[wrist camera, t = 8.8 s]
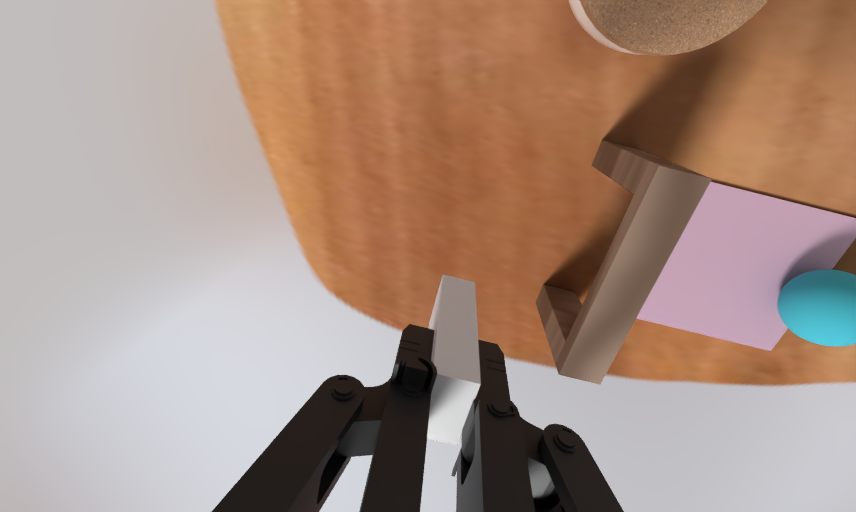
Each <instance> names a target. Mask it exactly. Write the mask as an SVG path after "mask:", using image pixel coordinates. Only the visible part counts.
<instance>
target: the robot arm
mask: <svg viewBox="0 0 856 512" xmlns="http://www.w3.org/2000/svg"><path fill="white" fill-rule="evenodd" d="M461 435H462V447H461V450H460V453H459V455H458V458H457V460H456V463H455V466H454V468H453V471H452V476H455V474H456V472H457V510H456V512H624V511H623V510H622V508H621V506H620V504H619V503H618V501H617V499H616V497H615V496H614V494H613V492H612V490H611V489H610V487H609V485H608V483H607V482H606V480H605V478H604V476H603V475H602V473H601V471H600V470H599V468H598V466H597V464H596V462H595V461H594V459H593V457H592V455H591V454H590V452H589V450H588V448H587V447H586V445H585V443H584V442H583V440H582V439H581V438H580V436H579V435H578V434H576V433H575V432H574V431H572V430H571V429H569V428H567V427H565V426H563V425H559V424H551V425H548V426H547V427H546V428H545V429H544V430H542V429H540V428H538V427H536V426H534V425H532V424H530V423H528V422H527V421H525V420H524V419H522V418H521V417H520V415H519V412H518V409H517V407H516V406H515V405H514V404H513V402H512V401H510V395H509V388H508V381H507V374H506V367H505V360H504V354H503V352H502V351H501V349H500V348H499V346H498V345H497V344H494V343H490V342H486V341H482V340H478V327H477V310H476V292H475V282H472V281H468V280H464V279H460V278H456V277H452V276H447V275H443V276H442V279H441V283H440V287H439V290H438V294H437V297H436V301H435V305H434V308H433V312H432V315H431V319H430V322H429V329H428V328H424V327H420V326H415V325H411V324H409V325H408V326H407V327H406V328H405V329H404V330H403V332H402V336H401V340H400V344H399V348H398V352H397V356H396V361H395V365H394V369H393V373H392V376H391V378H390V379H389V381H388V382H386V383H384V384H383V385H380V386H375V387H364V386H363V385H362V383H361V382H360V381H359V380H357V379H356V378H354V377H351V376H348V375H336V376H333V377H330V378H328V379H327V380H326V381H325V382H323V384H322V385H321V386H320V387H319V388H318V389H317V391H316V392H315V393H314V394H313V395H312V396H311V397H310V399H309V400H308V401H307V402H306V403H305V404H304V405H303V407H302V408H301V409H300V410H299V411H298V412H297V414H296V415H295V416H294V417H293V418H292V419H291V421H290V422H289V423H288V424H287V425H286V426H285V427H284V429H283V430H282V431H281V432H280V433H279V435H278V436H277V437H276V438H275V439H274V440H273V441H272V443H271V444H270V445H269V446H268V447H267V448H266V449H265V451H264V452H263V453H262V454H261V455H260V456H259V458H258V459H257V460H256V461H255V462H254V463H253V464H252V466H251V467H250V468H249V469H248V470H247V471H246V473H245V474H244V475H243V476H242V477H241V479H240V480H239V481H238V482H237V483H236V484H235V485H234V486H233V488H232V489H231V490H230V491H229V492H228V493H227V495H226V496H225V497H224V498H223V499H222V500H221V502H220V503H219V504H218V505H217V506H216V507H215V509H214V510H213V511H212V512H319V510H320V509H321V507H322V506H323V504H324V503H325V501H326V499H327V497H328V496H329V494H330V493H331V491H332V489H333V488H334V486H335V484H336V483H337V481H338V479H339V477H340V476H341V474H342V473H343V471H344V469H345V468H346V465H347V464H348V463H349V461H350V458H351V457H353V456H365V455H373V457H372V461H371V465H370V469H369V473H368V478H367V482H366V486H365V490H364V495H363V499H362V503H361V507H360V512H420V504H421V493H422V484H423V473H424V463H425V452H426V442H427V438H428V439H432V440H436V441H441V442H445V443H449V444H454V445H458V443H459V441H460V438H461Z"/></svg>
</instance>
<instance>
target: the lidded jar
mask: <svg viewBox="0 0 856 512" xmlns="http://www.w3.org/2000/svg"><path fill="white" fill-rule="evenodd" d="M568 1H569V4H570V7H571V9H572V11H573V13H574V16H575V18H576V19H577V21H578V22H579V23H580V25H581V26H582V28H583V29H584V30H585V31H586V32H587V33H588V34H589V35H590V36H591V37H593V38H594V39H595V40H597V41H598V42H600V43H601V44H603V45H604V46H607V47H609V48H612V49H614V50H617V51H621V52H625V53H630V54H644V55H659V56H666V55H674V54H680V53H687V52H690V51H693V50H697V49H700V48H703V47H706V46H708V45H710V44H712V43H714V42H716V41H719V40H721V39H722V38H724V37H725V36H727V35H729V34H730V33H732V32H733V31H735V30H737V29H738V28H739V27H741V26H742V25H743V24H744V23H745V22H747V21H748V20H749V19H750V18H752V17H753V16H754V15H755V14H756V13H757V12H758V11H759V10H760V9H761V8H762V7H763V6H764V5H765V4H766V3H767V2H768V1H769V0H568Z"/></svg>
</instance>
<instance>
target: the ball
mask: <svg viewBox="0 0 856 512" xmlns="http://www.w3.org/2000/svg"><path fill="white" fill-rule="evenodd" d="M777 308H778V312H779V315H780V317H781V319H782V321H783V323H784V324H785V325H786V326H787V327H788V328H789V329H790V330H791V331H792V332H793V333H795V334H796V335H798V336H799V337H801V338H803V339H805V340H807V341H810V342H812V343H816V344H820V345H825V346H848V345H853V344H856V275H854V274H851V273H848V272H845V271H840V270H832V269H823V270H814V271H809V272H806V273H803V274H800V275H798V276H796V277H794V278H793V279H791V280H790V281H789V282H788V283H787V284H786V285H785V286H784V287H783V288H782V290H781V292H780V294H779V296H778V301H777Z"/></svg>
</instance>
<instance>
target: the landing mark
mask: <svg viewBox="0 0 856 512" xmlns="http://www.w3.org/2000/svg"><path fill="white" fill-rule="evenodd" d="M855 238H856V218H853V217H849V216H845V215H841V214H837V213H833V212H830V211H826V210H822V209H818V208H814V207H810V206H806V205H802V204H798V203H794V202H790V201H786V200H782V199H778V198H774V197H770V196H766V195H762V194H758V193H754V192H750V191H746V190H742V189H738V188H734V187H730V186H726V185H722V184H718V183H714V182H710V184H709V185H708V187H707V189H706V191H705V193H704V195H703V196H702V198H701V200H700V202H699V204H698V206H697V207H696V209H695V211H694V213H693V215H692V217H691V218H690V220H689V222H688V224H687V226H686V228H685V229H684V231H683V233H682V235H681V237H680V239H679V241H678V242H677V244H676V246H675V248H674V250H673V252H672V253H671V255H670V257H669V259H668V261H667V263H666V264H665V266H664V268H663V270H662V272H661V274H660V275H659V277H658V279H657V281H656V283H655V285H654V286H653V288H652V290H651V292H650V294H649V296H648V297H647V299H646V301H645V303H644V305H643V307H642V308H641V310H640V312H639V314H638V316H637V319H641V320H645V321H649V322H653V323H658V324H662V325H666V326H670V327H674V328H678V329H682V330H686V331H690V332H695V333H699V334H703V335H707V336H711V337H715V338H719V339H723V340H727V341H731V342H736V343H740V344H744V345H748V346H752V347H756V348H760V349H764V350H768V351H771V350H772V349H773V348H774V346H775V345H776V344H777V342H778V341H779V340H780V338H781V337H782V336H783V334H784V333H785V332H786V330H787V329H788V327H787V326H786V325H785V324H784V323H783V321H782V319H781V317H780V315H779V312H778V308H777V301H778V296H779V294H780V292H781V290H782V288H783V287H784V286H785V285H786V284H787V283H788V282H789V281H790V280H791V279H793V278H794V277H796V276H798V275H800V274H803V273H806V272H809V271H814V270H823V269H833V268H834V266H835V265H836V264H837V262H838V261H839V260H840V258H841V257H842V256H843V254H844V253H845V252H846V250H847V249H848V248H849V246H850V245H851V244H852V242H853V241H854V240H855Z"/></svg>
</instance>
